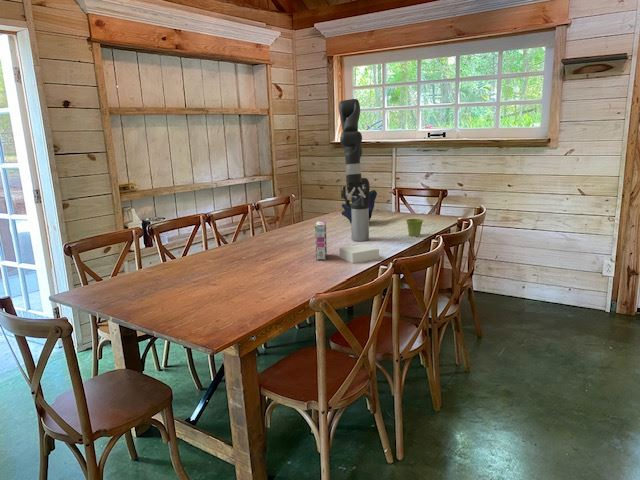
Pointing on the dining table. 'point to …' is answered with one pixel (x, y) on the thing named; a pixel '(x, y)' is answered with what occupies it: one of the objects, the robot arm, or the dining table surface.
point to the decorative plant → (347, 211)
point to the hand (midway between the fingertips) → (355, 206)
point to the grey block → (359, 253)
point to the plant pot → (414, 226)
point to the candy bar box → (321, 240)
